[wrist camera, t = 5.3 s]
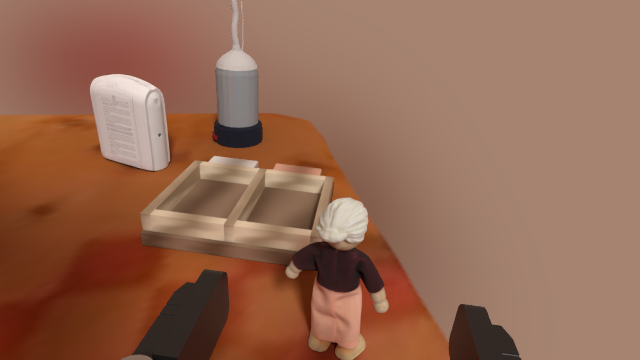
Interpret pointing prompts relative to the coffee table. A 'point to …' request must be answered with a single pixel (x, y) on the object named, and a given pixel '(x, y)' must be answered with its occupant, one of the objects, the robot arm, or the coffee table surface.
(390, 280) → the coffee table surface
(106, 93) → the photo printer
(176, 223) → the wooden divided tray
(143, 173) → the coffee table surface
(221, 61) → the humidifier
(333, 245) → the grandmother figurine
